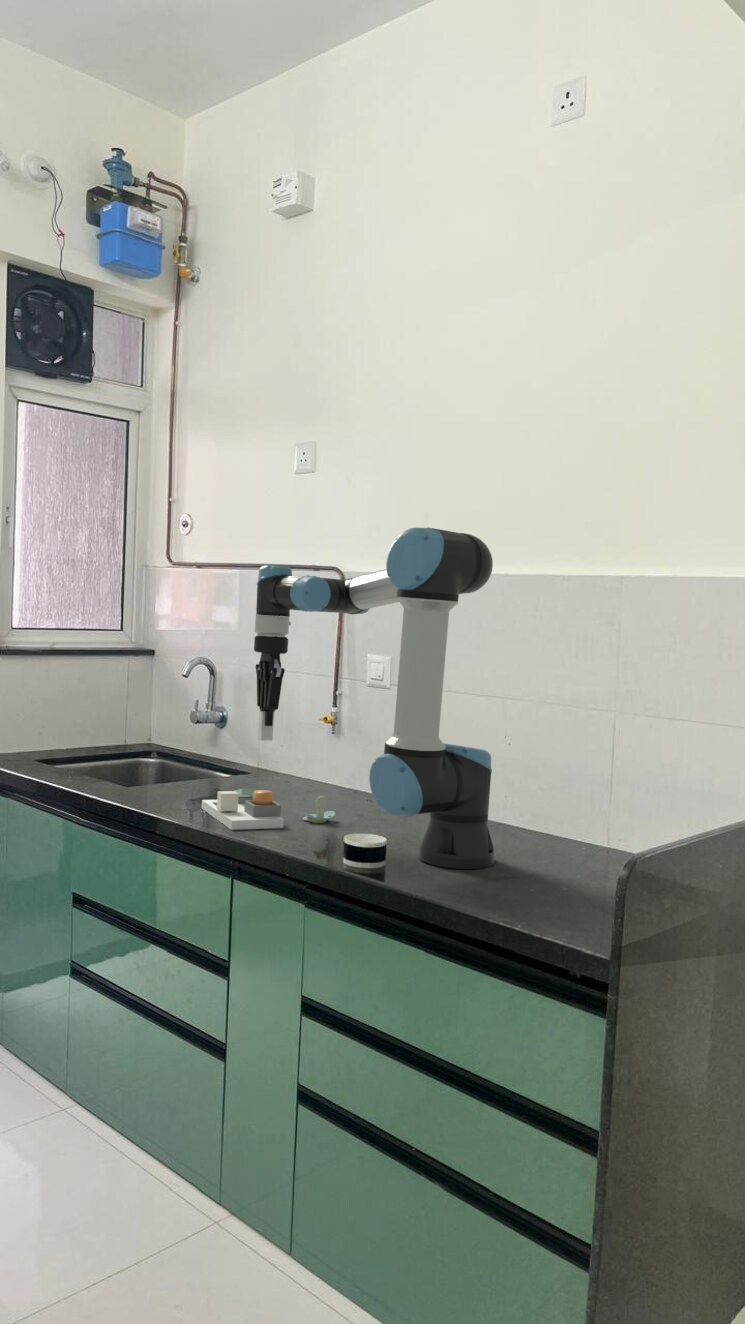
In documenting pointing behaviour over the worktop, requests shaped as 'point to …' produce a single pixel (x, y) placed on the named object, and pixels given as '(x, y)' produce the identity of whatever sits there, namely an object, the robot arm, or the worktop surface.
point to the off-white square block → (227, 801)
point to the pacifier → (320, 812)
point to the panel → (247, 814)
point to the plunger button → (263, 797)
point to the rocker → (246, 792)
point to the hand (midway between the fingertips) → (265, 739)
